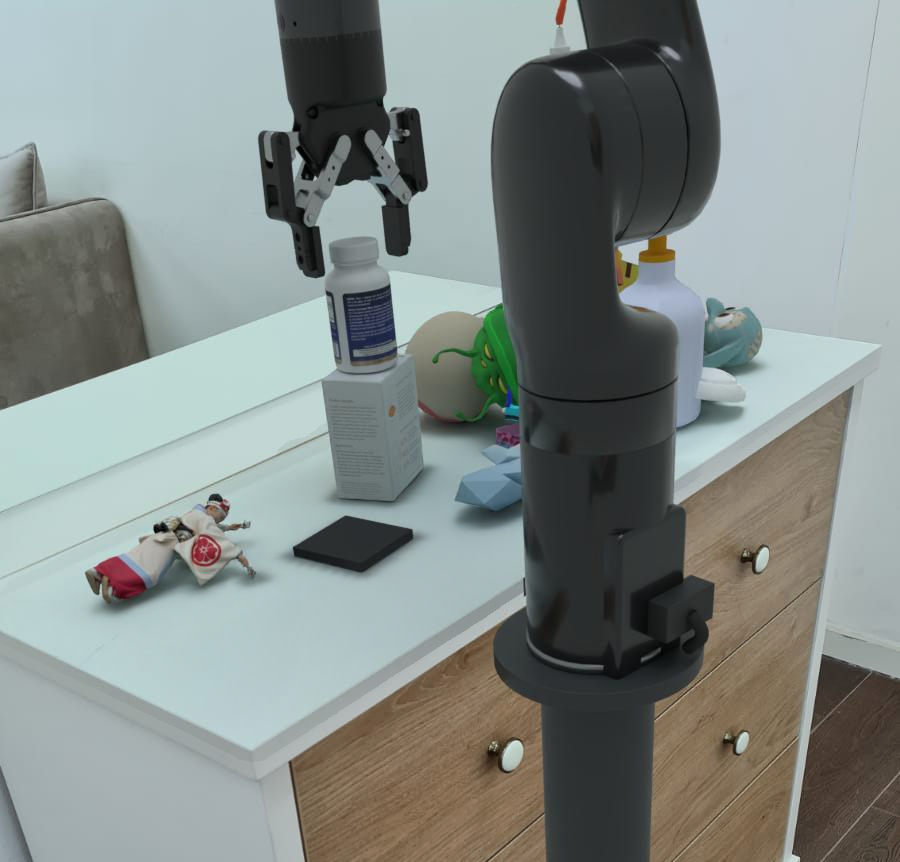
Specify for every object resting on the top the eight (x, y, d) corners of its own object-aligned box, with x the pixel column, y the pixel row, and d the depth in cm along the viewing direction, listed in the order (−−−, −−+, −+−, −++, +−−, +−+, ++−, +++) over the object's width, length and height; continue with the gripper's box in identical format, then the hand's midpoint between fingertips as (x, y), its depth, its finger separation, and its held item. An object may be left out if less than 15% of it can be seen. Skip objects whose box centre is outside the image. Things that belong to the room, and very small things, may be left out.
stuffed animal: (659, 296, 130) (768, 276, 124) (669, 361, 133) (776, 346, 127) (630, 322, 122) (744, 303, 116) (641, 391, 126) (753, 376, 120)
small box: (370, 466, 110) (356, 350, 104) (425, 469, 108) (415, 352, 102) (335, 499, 104) (318, 379, 98) (394, 503, 102) (380, 380, 96)
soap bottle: (587, 422, 114) (585, 136, 100) (643, 396, 119) (649, 120, 105) (662, 439, 109) (672, 140, 95) (718, 411, 114) (735, 123, 100)
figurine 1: (152, 639, 86) (299, 545, 94) (79, 554, 86) (232, 467, 94) (140, 673, 92) (280, 581, 99) (72, 593, 92) (217, 507, 99)
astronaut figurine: (701, 391, 122) (707, 360, 121) (759, 405, 112) (766, 371, 110) (625, 384, 120) (629, 353, 118) (677, 398, 109) (682, 363, 108)
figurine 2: (413, 325, 107) (478, 264, 99) (526, 303, 116) (594, 245, 107) (470, 454, 108) (538, 404, 100) (577, 423, 117) (648, 374, 108)
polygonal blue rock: (533, 497, 107) (533, 436, 105) (595, 503, 102) (597, 439, 100) (431, 513, 98) (429, 447, 96) (494, 520, 93) (494, 451, 91)
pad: (413, 538, 96) (412, 528, 95) (362, 572, 91) (360, 562, 91) (346, 523, 99) (345, 514, 99) (293, 556, 95) (292, 547, 94)
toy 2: (468, 258, 112) (423, 312, 121) (413, 344, 108) (370, 392, 117) (547, 329, 115) (497, 376, 124) (496, 414, 111) (448, 456, 120)
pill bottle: (411, 359, 100) (399, 235, 94) (374, 377, 97) (359, 250, 91) (361, 353, 103) (346, 232, 97) (323, 371, 99) (305, 246, 94)
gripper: (278, 38, 80) (313, 290, 89) (436, 16, 87) (453, 253, 96) (219, 39, 84) (258, 279, 94) (374, 18, 91) (396, 243, 101)
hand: (357, 265), depth 95 cm, fingers open, 8 cm apart
